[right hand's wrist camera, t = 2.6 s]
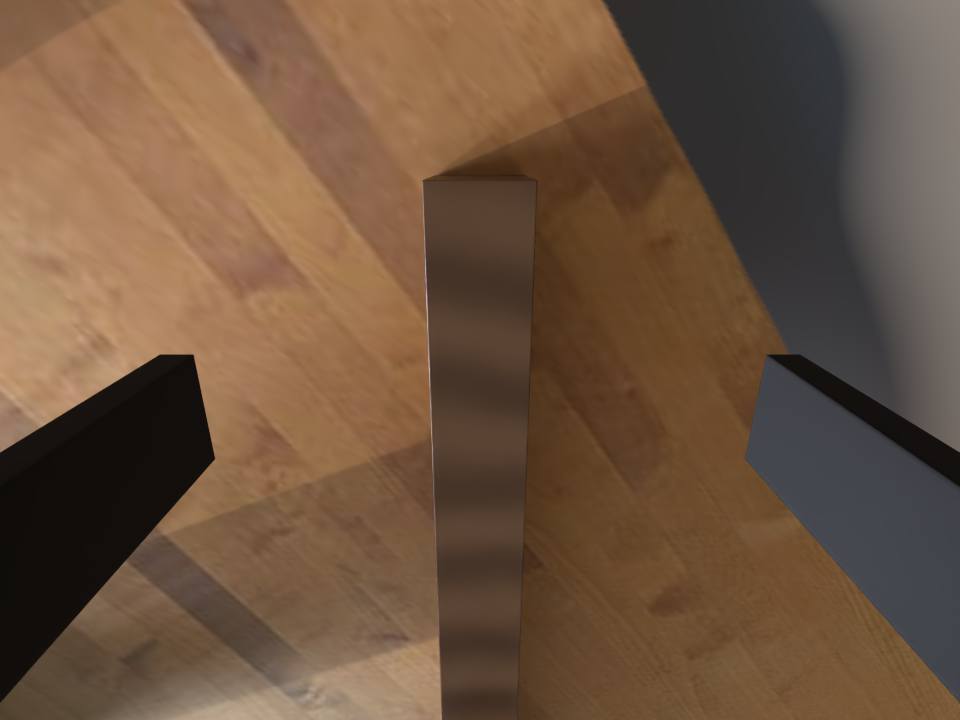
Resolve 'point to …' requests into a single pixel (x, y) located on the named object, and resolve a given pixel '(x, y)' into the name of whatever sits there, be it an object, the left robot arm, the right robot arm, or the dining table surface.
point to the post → (479, 429)
